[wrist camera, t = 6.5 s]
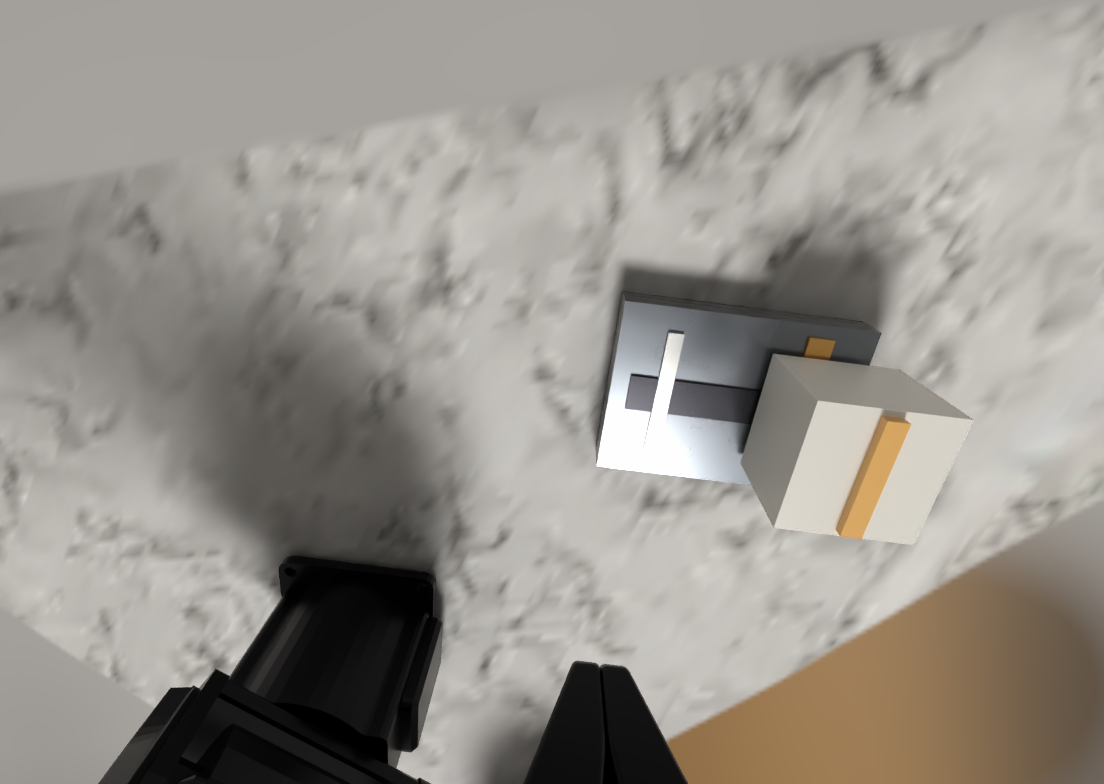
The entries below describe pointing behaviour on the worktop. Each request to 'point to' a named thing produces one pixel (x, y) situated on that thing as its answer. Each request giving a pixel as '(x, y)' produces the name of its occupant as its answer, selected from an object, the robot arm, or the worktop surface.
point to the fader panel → (703, 380)
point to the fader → (850, 449)
